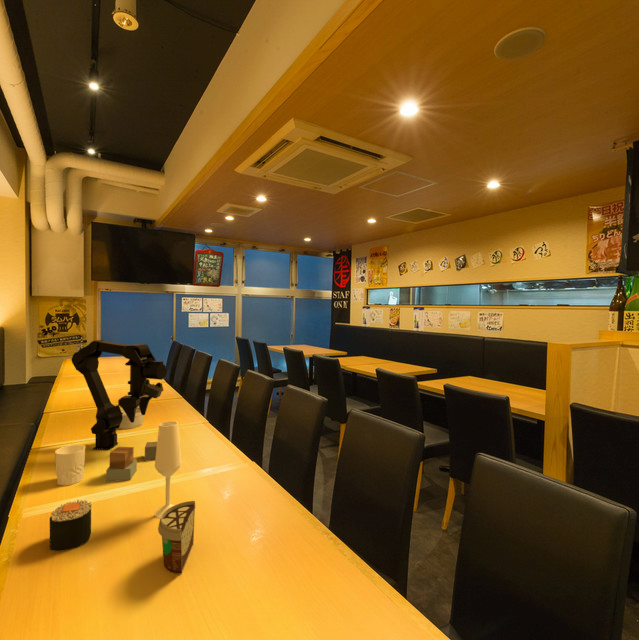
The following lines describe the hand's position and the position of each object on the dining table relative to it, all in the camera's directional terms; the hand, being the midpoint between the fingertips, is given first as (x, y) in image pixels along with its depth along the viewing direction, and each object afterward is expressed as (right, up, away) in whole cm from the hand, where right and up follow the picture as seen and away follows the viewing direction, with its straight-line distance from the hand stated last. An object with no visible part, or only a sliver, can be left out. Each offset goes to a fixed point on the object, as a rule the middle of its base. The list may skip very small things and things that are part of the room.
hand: (138, 418), depth 140 cm
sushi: (+10, -15, -53) cm, 56 cm away
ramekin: (-19, -11, +30) cm, 37 cm away
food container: (+37, -16, -59) cm, 71 cm away
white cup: (-9, -13, -24) cm, 29 cm away
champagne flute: (+28, -15, -40) cm, 51 cm away
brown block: (+8, -13, -5) cm, 16 cm away
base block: (+5, -14, -20) cm, 25 cm away
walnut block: (+5, -10, -21) cm, 23 cm away
